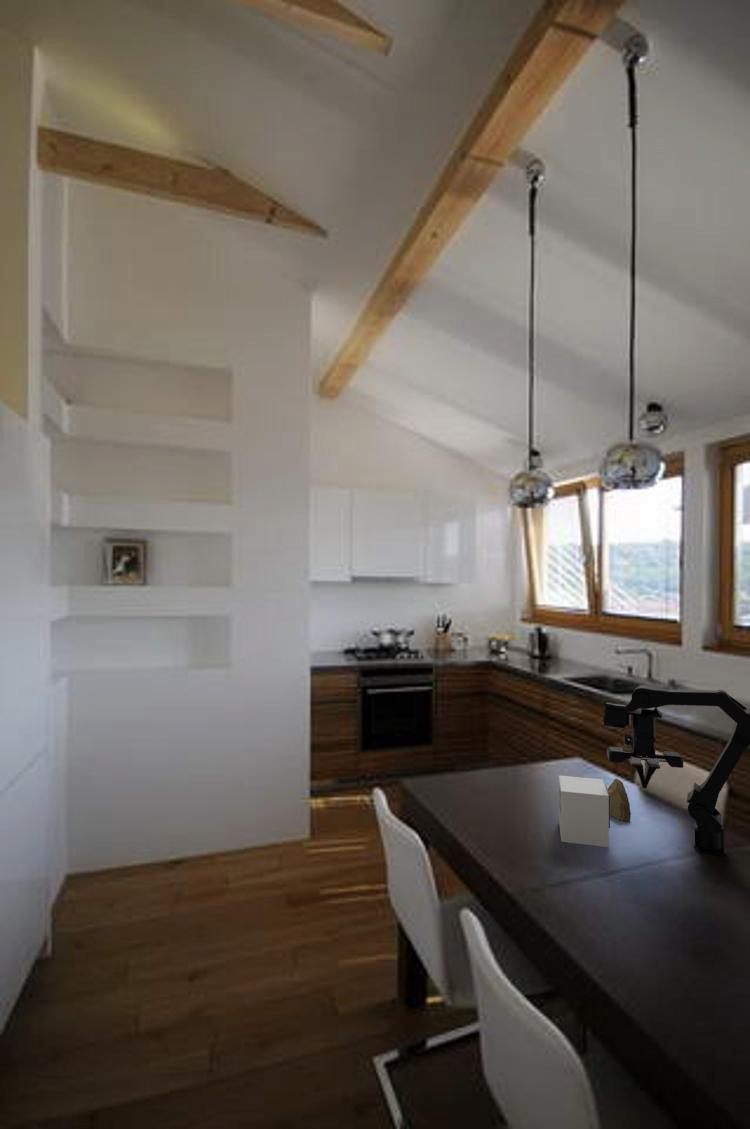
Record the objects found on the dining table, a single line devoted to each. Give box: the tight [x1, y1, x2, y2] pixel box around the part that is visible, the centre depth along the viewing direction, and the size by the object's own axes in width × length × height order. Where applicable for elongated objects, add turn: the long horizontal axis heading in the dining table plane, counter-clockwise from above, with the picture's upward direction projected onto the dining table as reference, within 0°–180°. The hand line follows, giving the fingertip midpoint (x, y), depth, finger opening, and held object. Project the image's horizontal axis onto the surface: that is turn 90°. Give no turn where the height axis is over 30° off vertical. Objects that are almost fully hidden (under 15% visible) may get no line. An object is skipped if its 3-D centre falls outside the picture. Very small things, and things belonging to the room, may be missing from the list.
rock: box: [607, 778, 632, 822], centre depth 172 cm, size 11×9×10 cm
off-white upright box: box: [558, 775, 611, 848], centre depth 159 cm, size 13×13×14 cm
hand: (644, 788), depth 159 cm, fingers closed
